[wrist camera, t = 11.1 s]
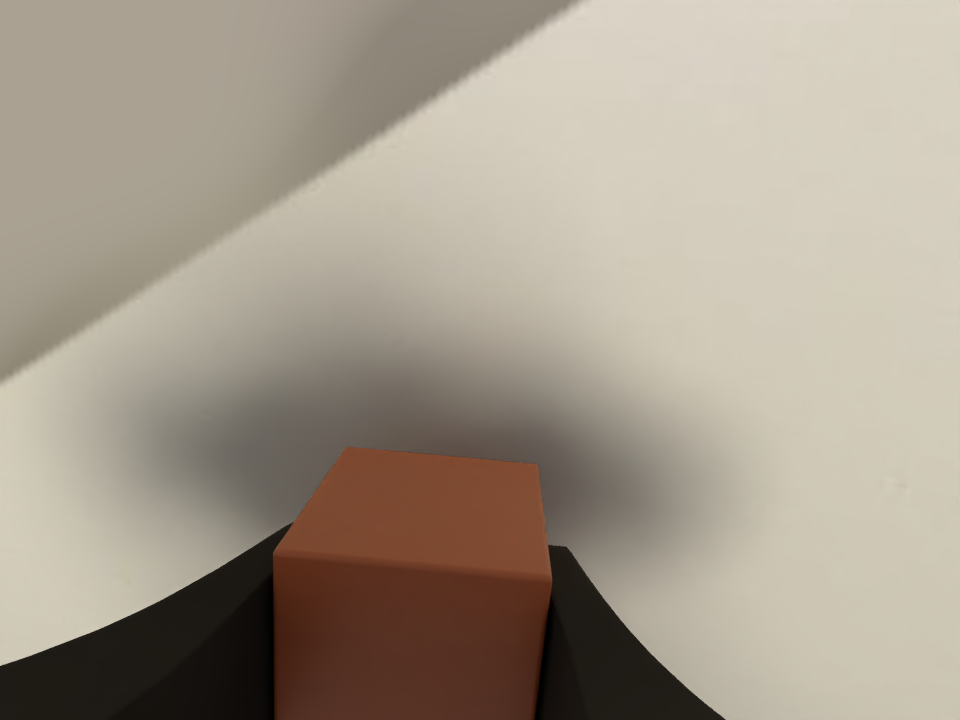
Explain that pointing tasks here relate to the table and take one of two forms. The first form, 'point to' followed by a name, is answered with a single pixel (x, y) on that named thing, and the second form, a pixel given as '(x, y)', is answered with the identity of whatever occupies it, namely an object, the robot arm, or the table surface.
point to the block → (413, 592)
